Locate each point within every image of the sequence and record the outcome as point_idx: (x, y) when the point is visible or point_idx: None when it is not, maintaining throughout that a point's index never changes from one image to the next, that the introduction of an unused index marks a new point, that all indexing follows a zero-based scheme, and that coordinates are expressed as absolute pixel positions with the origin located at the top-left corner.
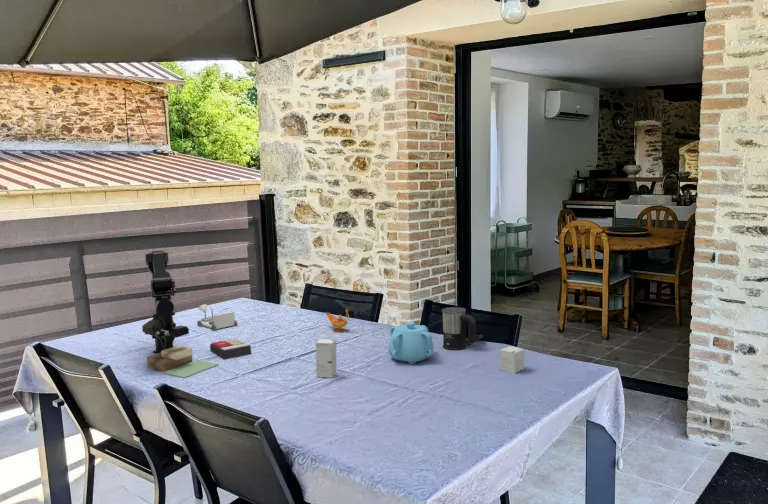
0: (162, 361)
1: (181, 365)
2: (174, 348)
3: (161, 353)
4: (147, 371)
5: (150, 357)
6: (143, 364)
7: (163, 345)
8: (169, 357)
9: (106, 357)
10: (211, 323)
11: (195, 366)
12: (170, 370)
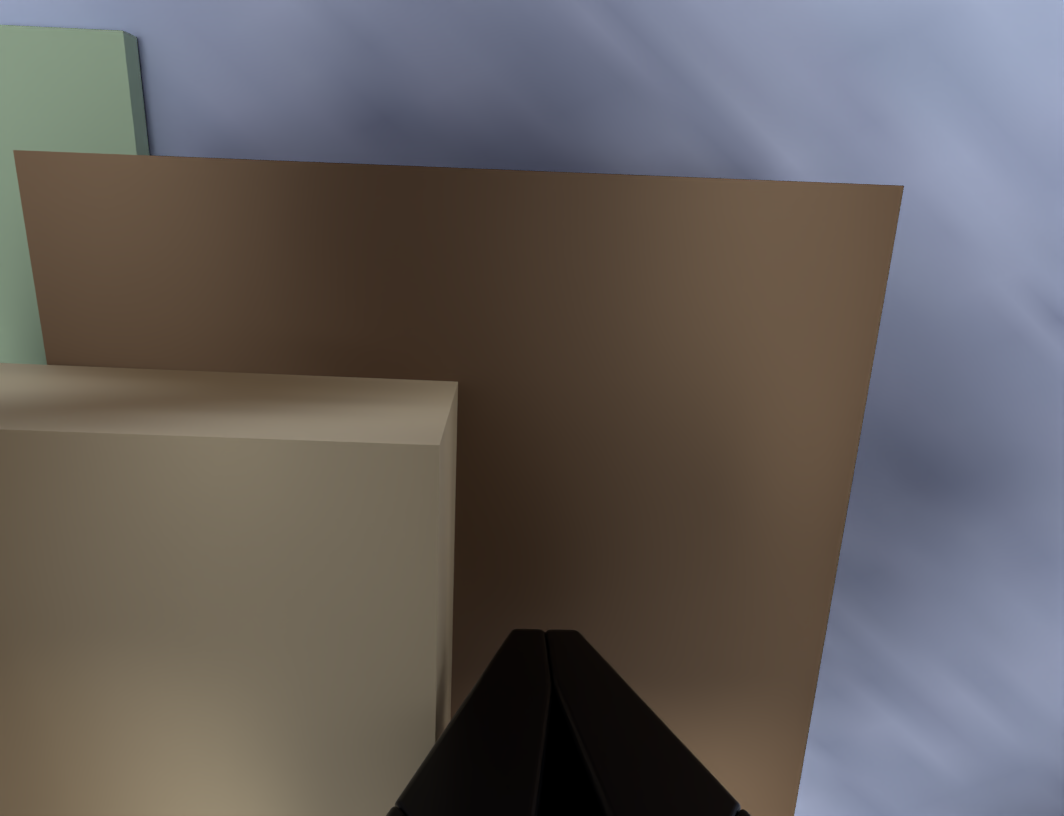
0: (190, 160)
1: None
2: (218, 808)
3: (732, 603)
4: (584, 2)
5: (754, 205)
6: (1014, 322)
7: (613, 761)
8: (96, 376)
9: None
10: None
11: None
12: None
